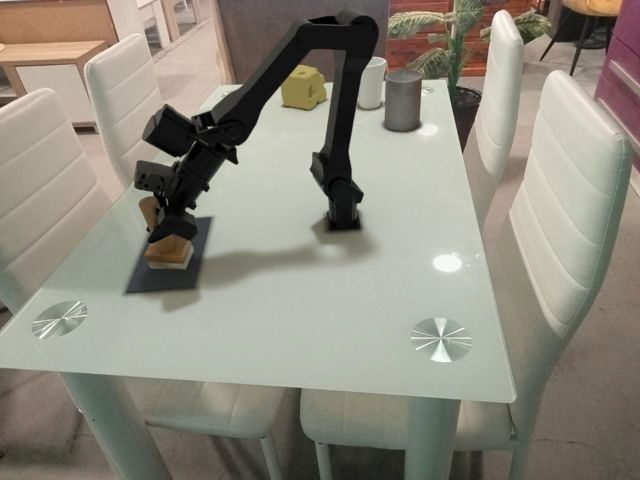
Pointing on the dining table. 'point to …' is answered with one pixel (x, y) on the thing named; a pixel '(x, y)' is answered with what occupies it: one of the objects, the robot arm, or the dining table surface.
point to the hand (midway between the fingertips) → (149, 236)
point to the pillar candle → (403, 99)
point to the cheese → (304, 88)
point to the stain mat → (170, 278)
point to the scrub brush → (164, 242)
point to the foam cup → (372, 83)
